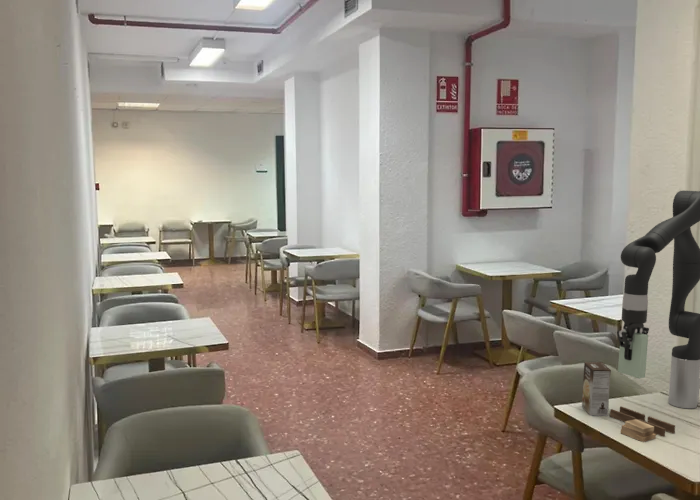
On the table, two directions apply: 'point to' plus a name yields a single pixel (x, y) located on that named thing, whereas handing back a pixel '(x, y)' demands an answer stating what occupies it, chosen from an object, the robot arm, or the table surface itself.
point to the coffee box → (596, 388)
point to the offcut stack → (638, 430)
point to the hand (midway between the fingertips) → (631, 358)
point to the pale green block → (635, 357)
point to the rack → (643, 420)
